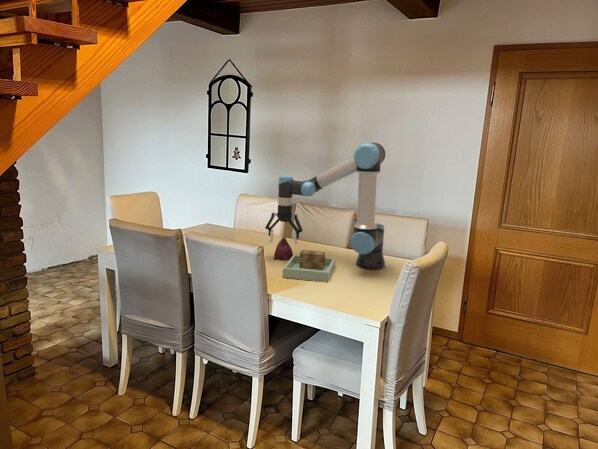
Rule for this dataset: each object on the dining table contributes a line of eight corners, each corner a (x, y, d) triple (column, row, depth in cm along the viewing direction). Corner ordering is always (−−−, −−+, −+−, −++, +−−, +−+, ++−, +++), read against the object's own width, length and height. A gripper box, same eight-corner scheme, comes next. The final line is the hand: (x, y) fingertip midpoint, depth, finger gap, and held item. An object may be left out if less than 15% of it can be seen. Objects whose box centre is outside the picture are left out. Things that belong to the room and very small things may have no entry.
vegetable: (289, 268, 248) (292, 244, 241) (271, 263, 250) (273, 240, 242) (294, 258, 257) (297, 235, 250) (276, 254, 259) (279, 231, 252)
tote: (334, 267, 240) (335, 258, 239) (327, 282, 217) (328, 272, 216) (293, 264, 244) (293, 254, 243) (282, 278, 221) (282, 268, 220)
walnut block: (324, 266, 239) (325, 251, 237) (322, 270, 233) (323, 254, 232) (301, 264, 241) (302, 249, 240) (299, 267, 236) (300, 252, 234)
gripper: (309, 205, 247) (307, 243, 252) (264, 201, 252) (263, 239, 256) (306, 207, 240) (304, 247, 245) (260, 203, 245) (259, 242, 249)
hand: (283, 243), depth 251 cm, fingers open, 13 cm apart
